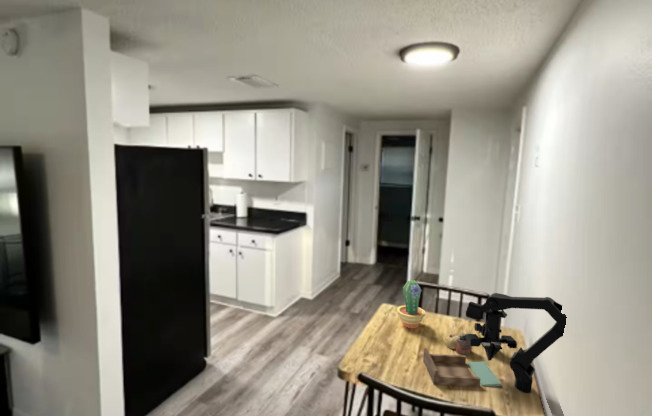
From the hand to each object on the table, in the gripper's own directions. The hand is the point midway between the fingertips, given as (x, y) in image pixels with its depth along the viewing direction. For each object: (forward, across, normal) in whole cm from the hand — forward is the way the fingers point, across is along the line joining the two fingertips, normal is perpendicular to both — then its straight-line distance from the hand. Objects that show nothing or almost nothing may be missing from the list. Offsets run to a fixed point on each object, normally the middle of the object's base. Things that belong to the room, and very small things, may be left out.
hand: (489, 360), depth 149 cm
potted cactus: (+8, +23, -47) cm, 53 cm away
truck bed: (+8, +16, 0) cm, 17 cm away
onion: (+8, +7, -23) cm, 25 cm away
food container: (+8, -10, -21) cm, 25 cm away
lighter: (+8, +4, -18) cm, 20 cm away
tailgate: (+6, +6, 0) cm, 9 cm away
